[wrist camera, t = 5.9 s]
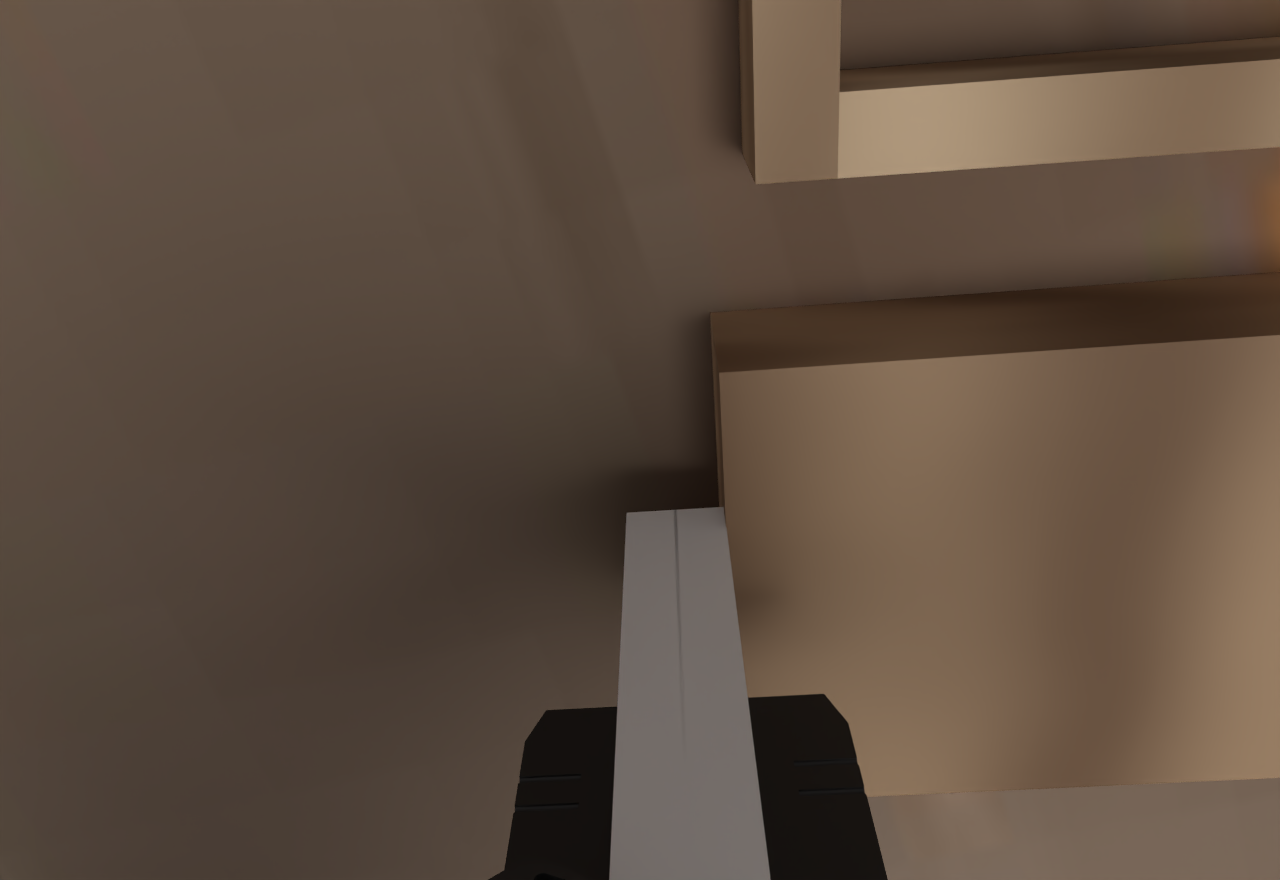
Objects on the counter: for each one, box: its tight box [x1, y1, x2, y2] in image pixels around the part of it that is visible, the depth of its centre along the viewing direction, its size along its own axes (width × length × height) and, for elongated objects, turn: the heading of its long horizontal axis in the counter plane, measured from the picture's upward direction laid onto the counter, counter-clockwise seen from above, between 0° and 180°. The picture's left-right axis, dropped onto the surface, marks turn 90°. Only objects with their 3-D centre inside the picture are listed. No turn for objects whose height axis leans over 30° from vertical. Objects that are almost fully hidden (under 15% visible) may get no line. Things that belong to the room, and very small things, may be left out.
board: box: [710, 272, 1280, 797], centre depth 15 cm, size 10×8×2 cm
